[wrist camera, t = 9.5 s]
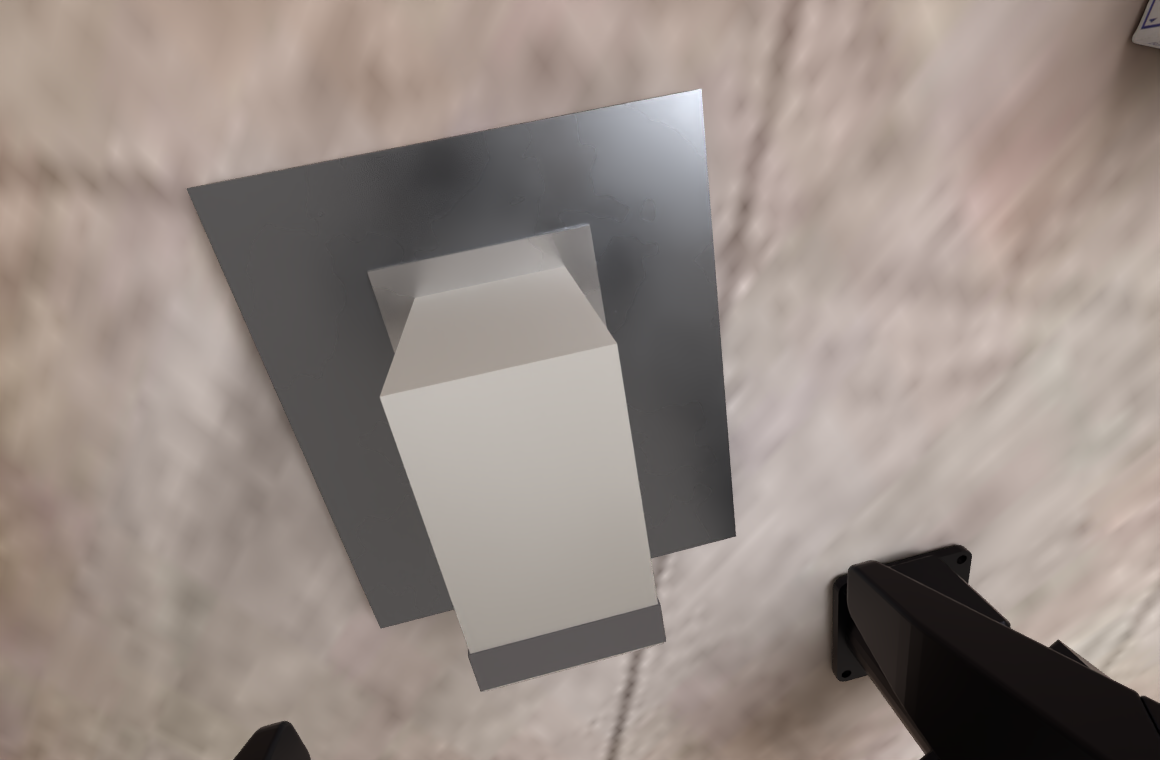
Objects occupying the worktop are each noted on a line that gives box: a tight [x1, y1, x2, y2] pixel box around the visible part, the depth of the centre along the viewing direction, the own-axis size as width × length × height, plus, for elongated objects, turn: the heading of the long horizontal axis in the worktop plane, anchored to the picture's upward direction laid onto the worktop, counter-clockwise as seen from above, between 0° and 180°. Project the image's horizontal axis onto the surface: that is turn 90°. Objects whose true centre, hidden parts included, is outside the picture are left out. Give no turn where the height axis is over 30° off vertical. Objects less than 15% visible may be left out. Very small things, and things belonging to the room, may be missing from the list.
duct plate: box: [187, 89, 736, 628], centre depth 20 cm, size 16×14×1 cm
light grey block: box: [380, 266, 666, 692], centre depth 16 cm, size 5×8×7 cm, turn 10°
